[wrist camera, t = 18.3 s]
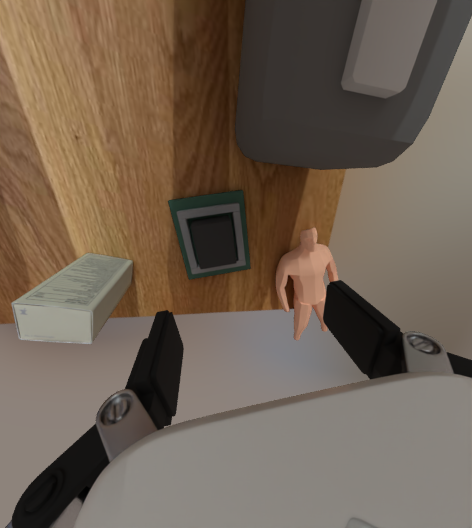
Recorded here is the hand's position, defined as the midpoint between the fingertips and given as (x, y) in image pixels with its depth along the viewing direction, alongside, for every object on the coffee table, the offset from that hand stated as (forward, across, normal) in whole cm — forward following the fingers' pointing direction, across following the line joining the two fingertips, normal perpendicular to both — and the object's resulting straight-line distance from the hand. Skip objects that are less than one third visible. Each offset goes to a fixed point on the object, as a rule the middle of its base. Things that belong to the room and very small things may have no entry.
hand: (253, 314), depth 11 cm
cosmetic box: (+19, +18, +4) cm, 26 cm away
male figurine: (+18, -15, +25) cm, 34 cm away
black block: (+18, +2, +1) cm, 18 cm away
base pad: (+19, +2, +1) cm, 19 cm away
